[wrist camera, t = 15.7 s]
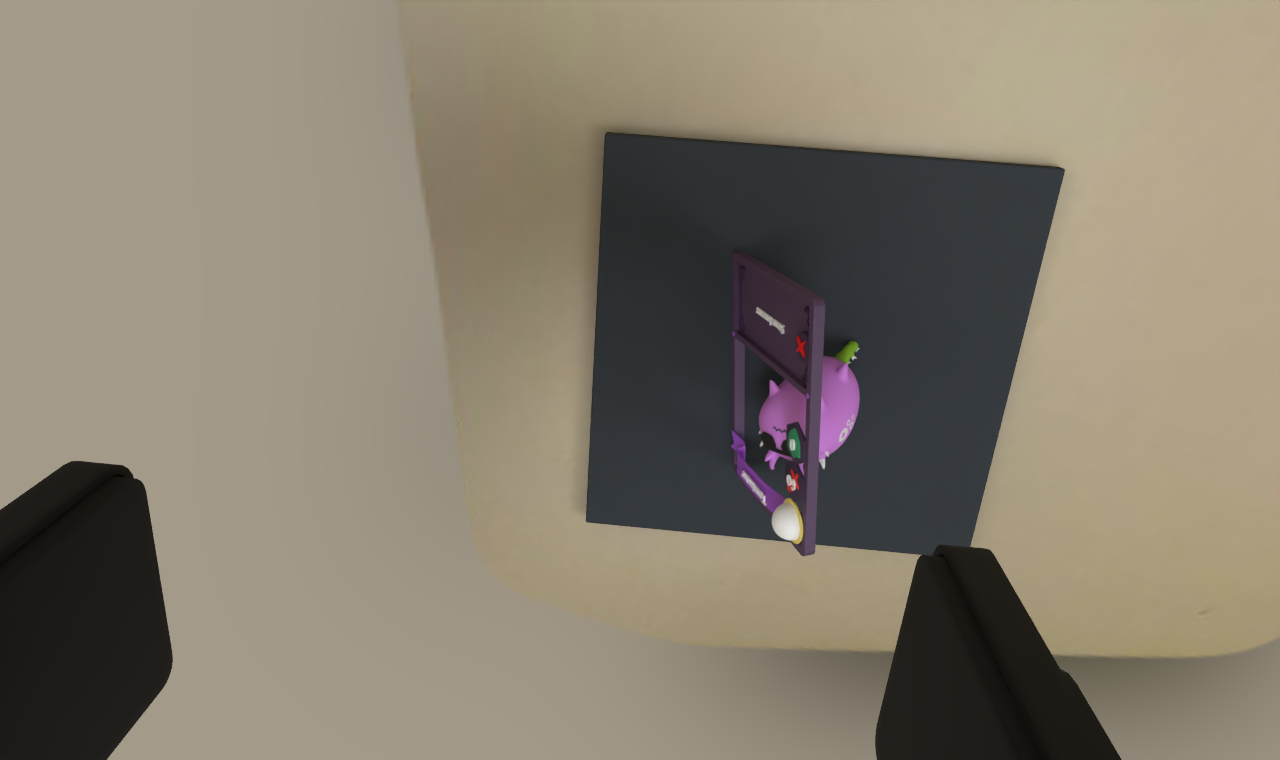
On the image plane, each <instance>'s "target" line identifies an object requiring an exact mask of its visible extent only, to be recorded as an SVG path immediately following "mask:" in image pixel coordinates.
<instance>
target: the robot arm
mask: <svg viewBox="0 0 1280 760" xmlns="http://www.w3.org/2000/svg"><path fill="white" fill-rule="evenodd" d="M172 659H173V657H172V649H171V642H170V636H169V630H168V624H167V618H166V612H165V606H164V600H163V593H162V587H161V581H160V575H159V569H158V562H157V556H156V550H155V544H154V539H153V532H152V526H151V519H150V513H149V507H148V501H147V495H146V490H145V487H144V485H143V483H142V482H141V481H140V480H138V479H134V478H133V475H132V473H131V472H130V471H129V469H128V468H126V467H124V466H123V465H113V464H103V463H93V462H83V461H71V462H69V463H67V464H65V465H63V466H62V467H60V468H59V469H58V470H56V471H55V472H53V473H52V474H51V475H49V476H48V477H46V478H45V479H43V480H42V481H41V482H39V483H38V484H36V485H35V486H34V487H32V488H31V489H29V490H28V491H26V492H25V493H24V494H22V495H21V496H19V497H18V498H17V499H15V500H14V501H12V502H11V503H9V504H8V505H7V506H5V507H4V508H2V509H1V510H0V760H107V758H108V757H109V756H110V755H111V753H112V752H113V751H114V749H115V748H116V747H117V746H118V745H119V743H120V742H121V741H122V740H123V738H124V737H125V736H126V734H127V733H128V732H129V731H130V729H131V728H132V727H133V726H134V724H135V723H136V722H137V720H138V719H139V718H140V717H141V715H142V714H143V713H144V712H145V710H146V709H147V708H148V707H149V705H150V704H151V703H152V702H153V700H154V699H155V698H156V697H157V695H158V694H159V693H160V691H161V690H162V689H163V687H164V685H165V684H166V682H167V680H168V678H169V675H170V672H171V669H172V662H173V660H172ZM875 739H876V740H875V741H876V742H875V745H876V746H875V747H876V756H877V760H1121V758H1120V756H1119V755H1118V753H1117V751H1116V750H1115V748H1114V746H1113V745H1112V743H1111V741H1110V739H1109V738H1108V736H1107V734H1106V733H1105V731H1104V729H1103V728H1102V726H1101V724H1100V723H1099V721H1098V719H1097V717H1096V716H1095V714H1094V712H1093V711H1092V709H1091V707H1090V706H1089V704H1088V702H1087V701H1086V699H1085V697H1084V696H1083V694H1082V692H1081V690H1080V689H1079V687H1078V685H1077V684H1076V682H1075V681H1074V680H1073V679H1072V677H1071V676H1070V675H1069V673H1067V672H1065V671H1063V670H1061V669H1060V668H1059V666H1058V665H1057V663H1056V661H1055V659H1054V658H1053V656H1052V654H1051V653H1050V651H1049V649H1048V647H1047V646H1046V644H1045V642H1044V640H1043V639H1042V637H1041V635H1040V634H1039V632H1038V630H1037V628H1036V627H1035V625H1034V623H1033V621H1032V620H1031V618H1030V616H1029V615H1028V613H1027V611H1026V609H1025V608H1024V606H1023V604H1022V602H1021V601H1020V599H1019V597H1018V596H1017V594H1016V592H1015V590H1014V589H1013V587H1012V585H1011V583H1010V582H1009V580H1008V578H1007V577H1006V575H1005V573H1004V571H1003V570H1002V568H1001V566H1000V564H999V563H998V561H997V559H996V558H995V556H994V554H993V553H992V552H991V551H990V550H988V549H984V548H974V547H963V546H953V545H943V544H940V545H939V546H937V547H936V549H935V550H934V552H933V555H932V556H930V555H921V556H920V557H919V559H918V560H917V564H916V567H915V571H914V575H913V579H912V583H911V587H910V591H909V595H908V600H907V604H906V608H905V612H904V616H903V620H902V624H901V628H900V632H899V637H898V641H897V645H896V649H895V653H894V657H893V661H892V665H891V669H890V673H889V678H888V682H887V686H886V690H885V694H884V698H883V702H882V706H881V711H880V715H879V719H878V723H877V728H876V738H875Z"/></svg>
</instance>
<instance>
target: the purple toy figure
mask: <svg viewBox="0 0 1280 760" xmlns="http://www.w3.org/2000/svg"><path fill="white" fill-rule="evenodd" d="M824 324H825V302H824V300H823V298H822V297H820V296H818V295H817V294H815V293H813V292H812V291H810V290H808V289H806V288H805V287H803V286H801V285H800V284H798V283H796V282H795V281H793V280H791V279H789V278H788V277H786V276H784V275H783V274H781V273H779V272H778V271H776V270H774V269H772V268H771V267H769V266H767V265H766V264H764V263H762V262H761V261H759V260H757V259H755V258H754V257H752V256H750V255H749V254H747V253H745V252H735V253H733V254H732V430H731V431H732V445H731V447H732V467H733V470H734V472H735V474H736V475H737V476H738V477H739V479H740V480H741V481H742V482H743V484H744V485H745V486H746V487H747V488H748V490H749V491H750V492H751V493H752V495H753V496H754V497H755V498H756V500H757V501H758V502H759V503H760V505H761V506H762V507H763V508H764V510H765V511H766V512H767V513H768V514H769V516H770V517H771V518H772V527H773V529H774V531H775V533H776V534H777V535H778V536H779V537H781V538H783V539H785V540H789V541H790V542H791V543H792V544H793V545H794V547H795V548H796V549H797V550H798V552H799V553H800V554H801V555H802V556H806V555H811V554H814V553H815V538H816V514H817V490H818V466H819V462H820V463H821V465H822V468H823V469H824V468H825V457H826V456H828V457H829V455H830V454H831V453H833V452H834V451H835V450H837V449H838V448H839V447H840V446H841V445H842V444H843V443H844V441H845V440H846V439H847V437H848V436H849V434H850V432H851V430H852V428H853V426H854V423H855V421H856V417H857V414H858V409H859V401H860V394H859V386H858V383H857V380H856V377H855V375H854V374H853V372H852V370H851V369H850V368H849V367H848V363H851V362H849V360H850V358H852V360H854V358H855V359H857V358H856V357H855V356H854V353H855V351H856V352H857V350H859V348H858V343H857V342H855V341H850V342H849V343H848V344H847V345H846V346H844V347H843V348H842V350H841V351H840V352H839V353H837V354H836V356H835V357H834V358H833V357H829V356H823V348H824ZM745 346H747V347H748V348H749V349H750V350H751V351H752V352H754V353H755V354H756V355H757V356H758V357H760V358H761V359H762V360H763V361H764V362H765V363H767V364H768V365H769V366H770V367H771V368H772V369H774V370H775V371H776V372H777V373H778V374H780V375H781V376H782V377H783V378H784V379H785V380H784V381H783V382H782V383H781V384H780V385H779V386H777V385H776V384H775V382H774V381H772V380H770V393H769V396H768V398H767V399H766V401H765V402H764V404H763V406H762V408H761V411H760V414H759V427H760V431H759V434H760V433H761V434H762V435H761V440H762V441H761V443H760V447H761V446H762V445H763V444H764V447H766V448H767V449H769V451H768V453H767V455H766V457H765V462H766V461H768V460H769V466H770V468H771V470H773V469H774V465H775V463H776V461H777V459H778V458H779V457H780V456H781V457H783V458H785V459H788V460H791V461H792V462H786V470H785V484H786V486H787V490H788V491H789V493H790V496H791V498H792V499H791V498H787V499H786V498H784V497H783V496H782V495H780V494H779V493H777V492H776V491H775V490H774V489H772V488H771V487H770V486H769V485H767V484H766V483H765V482H764V481H763V480H762V479H761V478H760V477H759V475H758V474H757V473H756V472H755V471H754V470H753V469H752V468H751V467H750V466H749V465H748V464H747V463H746V461H745V442H744V416H745ZM803 464H804V471H803ZM795 502H803V511H802V512H801V511H800V510H799V508H798V506H797V504H796V503H795Z"/></svg>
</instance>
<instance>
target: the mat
mask: <svg viewBox="0 0 1280 760" xmlns="http://www.w3.org/2000/svg"><path fill="white" fill-rule="evenodd" d="M1064 172H1065V169H1063V168H1060V167H1051V166H1038V165H1025V164H1012V163H999V162H986V161H973V160H960V159H947V158H934V157H921V156H908V155H895V154H883V153H870V152H857V151H844V150H831V149H818V148H805V147H792V146H779V145H766V144H753V143H740V142H727V141H714V140H702V139H689V138H676V137H663V136H650V135H637V134H624V133H611V132H607V133H606V134H605V143H604V164H603V184H602V205H601V225H600V245H599V266H598V286H597V307H596V327H595V347H594V368H593V388H592V409H591V429H590V449H589V470H588V490H587V511H586V522H590V523H600V524H610V525H621V526H631V527H641V528H651V529H662V530H672V531H682V532H693V533H703V534H713V535H724V536H734V537H744V538H755V539H765V540H775V541H785V542H790V541H789V540H785V539H783V538H781V537H779V536H778V535H777V534H776V533H775V531H774V529H773V527H772V518H771V517H770V516H769V514H768V513H767V512H766V511H765V510H764V508H763V507H762V506H761V505H760V503H759V502H758V501H757V500H756V498H755V497H754V496H753V495H752V493H751V492H750V491H749V490H748V488H747V487H746V486H745V485H744V484H743V482H742V481H741V480H740V479H739V477H738V476H737V475H736V474H735V472H734V470H733V467H732V447H731V445H732V431H731V430H732V254H733V253H735V252H745V253H747V254H749V255H750V256H752V257H754V258H755V259H757V260H759V261H761V262H762V263H764V264H766V265H767V266H769V267H771V268H772V269H774V270H776V271H778V272H779V273H781V274H783V275H784V276H786V277H788V278H789V279H791V280H793V281H795V282H796V283H798V284H800V285H801V286H803V287H805V288H806V289H808V290H810V291H812V292H813V293H815V294H817V295H818V296H820V297H822V298H823V300H824V302H825V324H824V348H823V356H829V357H833V358H834V357H835V356H836V354H837V353H839V352H840V351H841V350H842V348H843V347H844V346H846V345H847V344H848V343H849V342H850V341H855V342H857V343H858V348H859V350H857V352H856V351H855V353H854V356H855V357H856V358H857V359H855V358H854V360H852V358H850V360H849V362H851V363H848V367H849V368H850V369H851V370H852V372H853V374H854V375H855V377H856V380H857V383H858V386H859V394H860V401H859V409H858V414H857V417H856V421H855V423H854V426H853V428H852V430H851V432H850V434H849V436H848V437H847V439H846V440H845V441H844V443H843V444H842V445H841V446H840V447H839V448H838V449H837V450H835V451H834V452H833V453H831V454H830V455H829V457H828V456H826V457H825V468H824V469H823V468H822V465H821V463H820V462H819V466H818V490H817V514H816V538H815V544H816V545H827V546H837V547H847V548H858V549H868V550H878V551H889V552H899V553H909V554H919V555H930V556H932V555H933V552H934V550H935V549H936V547H937V546H939V545H940V544H943V545H953V546H963V547H970V545H971V541H972V537H973V533H974V529H975V525H976V521H977V517H978V513H979V509H980V505H981V501H982V497H983V493H984V489H985V485H986V482H987V478H988V474H989V470H990V466H991V462H992V458H993V454H994V450H995V446H996V442H997V438H998V434H999V430H1000V426H1001V422H1002V418H1003V414H1004V410H1005V406H1006V402H1007V398H1008V394H1009V390H1010V386H1011V382H1012V378H1013V374H1014V370H1015V366H1016V362H1017V358H1018V354H1019V350H1020V346H1021V342H1022V338H1023V335H1024V331H1025V327H1026V323H1027V319H1028V315H1029V311H1030V307H1031V303H1032V299H1033V295H1034V291H1035V287H1036V283H1037V279H1038V275H1039V271H1040V267H1041V263H1042V259H1043V255H1044V251H1045V247H1046V243H1047V239H1048V235H1049V231H1050V227H1051V223H1052V219H1053V215H1054V211H1055V207H1056V203H1057V199H1058V195H1059V192H1060V188H1061V184H1062V180H1063V176H1064ZM770 380H772V381H774V382H775V384H776V385H777V386H779V385H780V384H781V383H782V382H783V381H784V380H785V379H784V378H783V377H782V376H781V375H780V374H778V373H777V372H776V371H775V370H774V369H772V368H771V367H770V366H769V365H768V364H767V363H765V362H764V361H763V360H762V359H761V358H760V357H758V356H757V355H756V354H755V353H754V352H752V351H751V350H750V349H749V348H748V347H747V346H745V416H744V442H745V461H746V463H747V464H748V465H749V466H750V467H751V468H752V469H753V470H754V471H755V472H756V473H757V474H758V475H759V477H760V478H761V479H762V480H763V481H764V482H765V483H766V484H767V485H769V486H770V487H771V488H772V489H774V490H775V491H776V492H777V493H779V494H780V495H782V496H783V497H784V498H786V499H787V498H791V496H790V493H789V491H788V490H787V486H786V484H785V470H786V462H792V461H791V460H788V459H785V458H783V457H781V456H780V457H779V458H778V459H777V461H776V463H775V465H774V469H773V470H771V468H770V466H769V460H768V461H766V462H765V457H766V455H767V453H768V451H769V449H767V448H766V447H764V444H763V445H762V446H761V447H760V443H761V441H762V440H761V435H762V434H761V433H760V434H759V431H760V427H759V414H760V411H761V408H762V406H763V404H764V402H765V401H766V399H767V398H768V396H769V393H770ZM803 471H804V464H803ZM791 499H792V498H791ZM795 503H796V504H797V506H798V508H799V510H800V511H801V512H802V511H803V502H795Z"/></svg>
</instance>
